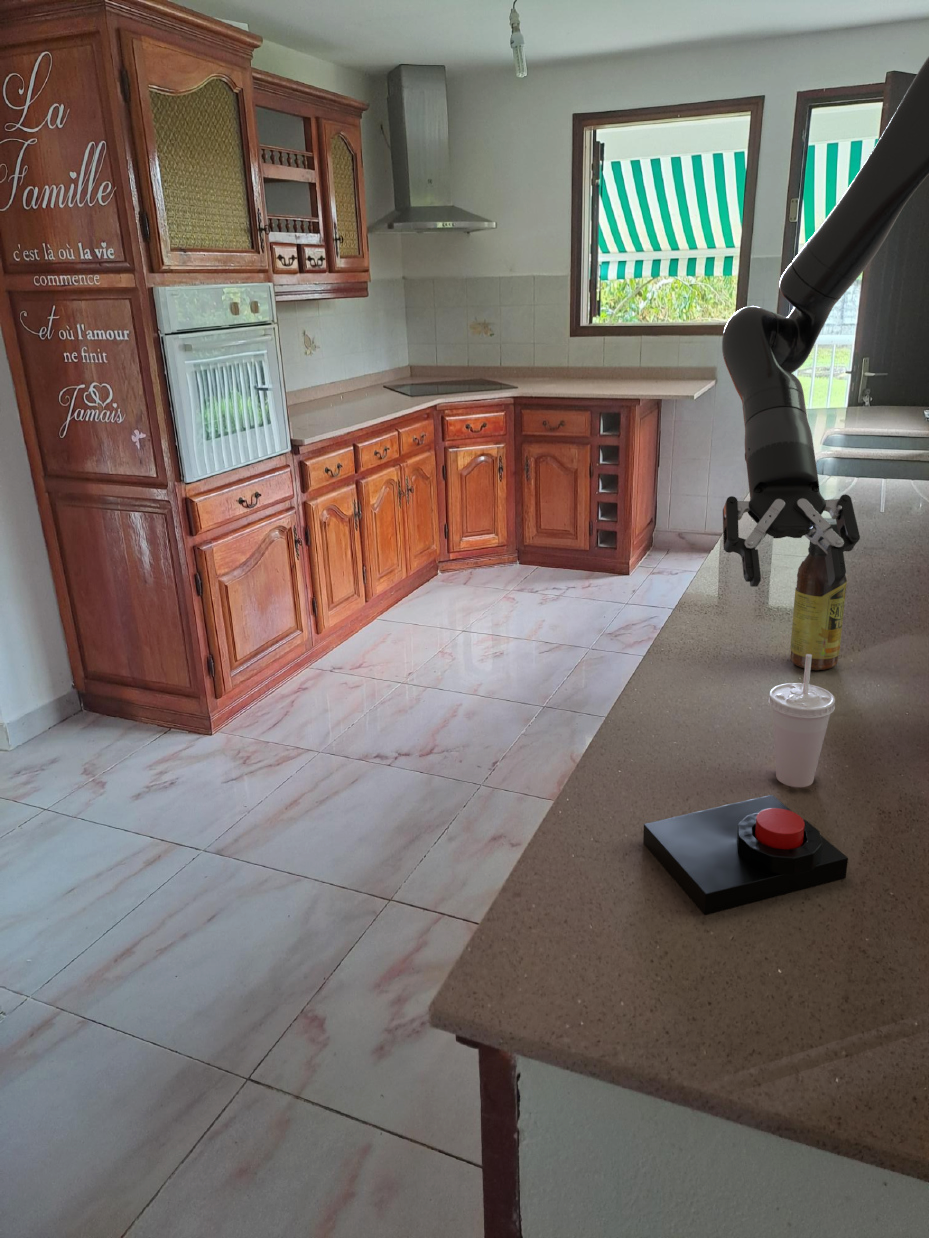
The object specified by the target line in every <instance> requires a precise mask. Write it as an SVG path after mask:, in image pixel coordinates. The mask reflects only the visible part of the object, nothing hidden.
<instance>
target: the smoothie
mask: <svg viewBox="0 0 929 1238" xmlns="http://www.w3.org/2000/svg"><path fill="white" fill-rule="evenodd" d="M811 659H812V655H811V654H806V660H805V668H804V673H803V683H801V682H788V683H783V684H779V685H776V686H774V687H772V689H771V690H770V691H769V696H768V700H767V701H768V704H769V706H770V707H771V716H772V731H773V746H774V761H775V762H774V764H775V776H776V780H777V781H778V782H779V783H781V784H782V785H785V786H788V787H791V788H806V787H810V786H811V785H812V784H813V783H814V780H815V777H816V773H817V768H818V765H819V760H820V756H821V752H822V748H823V746H824V745H823V744H824V741H825V737H826V733H827V728H828V725H829V721H830V716H831V714H832V713H834V712H835V709H836V696H834V695H833V693H831V692H830V691H829V690H828V689H825V688H823V687H821V686H818V685H813V684H811V683H810V679H811V671H812V670H811Z"/></svg>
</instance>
